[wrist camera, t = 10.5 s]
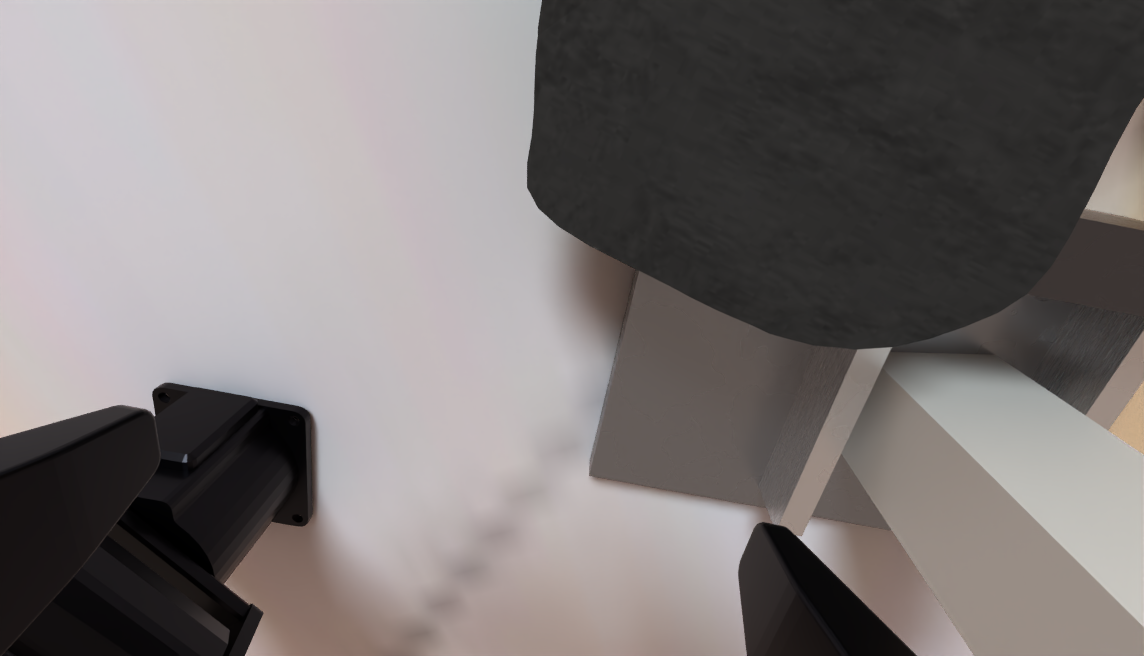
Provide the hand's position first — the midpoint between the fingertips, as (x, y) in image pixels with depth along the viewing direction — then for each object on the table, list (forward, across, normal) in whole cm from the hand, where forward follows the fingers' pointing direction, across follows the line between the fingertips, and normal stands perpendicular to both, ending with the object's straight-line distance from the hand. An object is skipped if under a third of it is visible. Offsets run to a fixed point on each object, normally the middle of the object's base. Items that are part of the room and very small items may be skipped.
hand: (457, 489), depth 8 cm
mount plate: (+13, -11, +2) cm, 17 cm away
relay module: (+12, -15, +3) cm, 19 cm away
